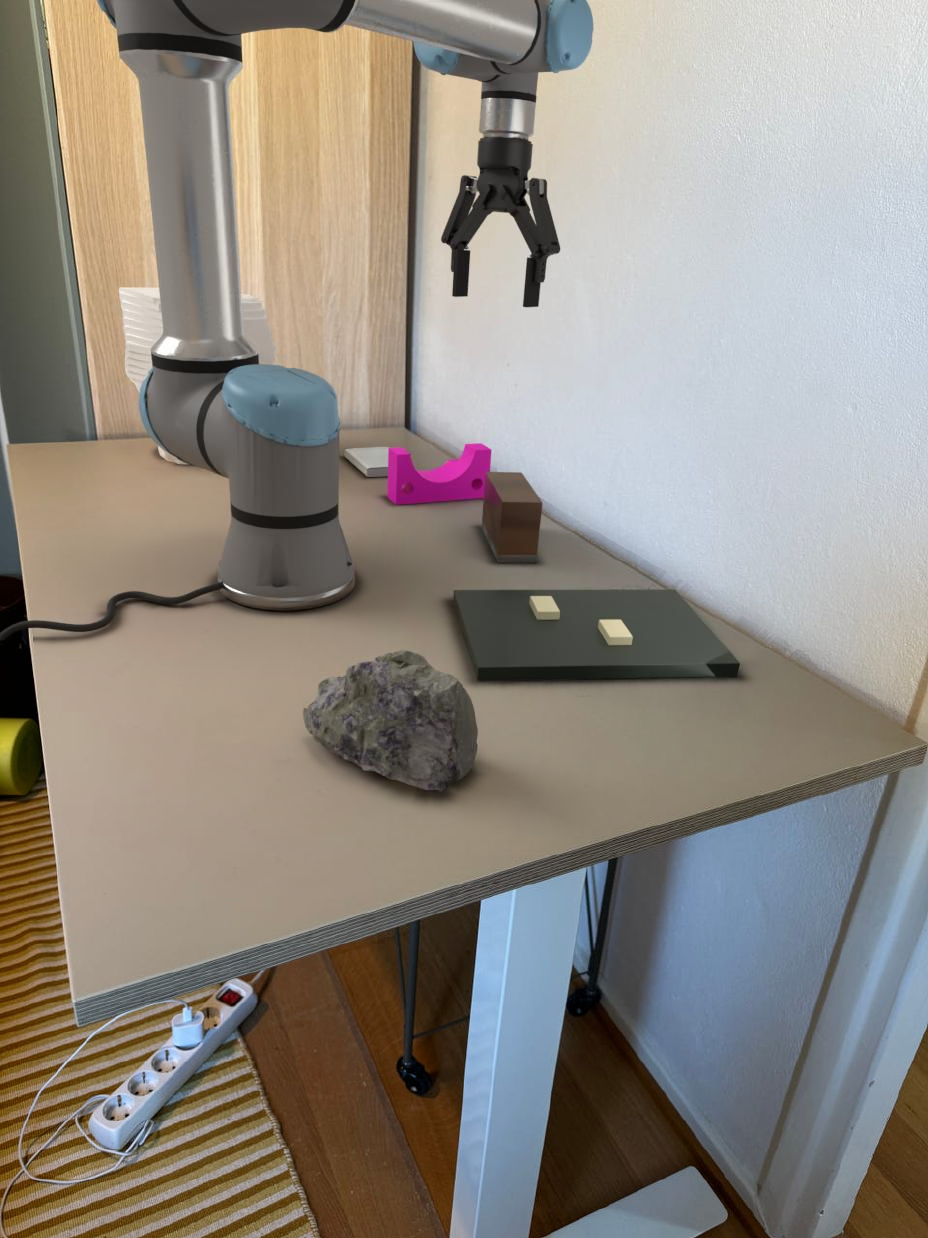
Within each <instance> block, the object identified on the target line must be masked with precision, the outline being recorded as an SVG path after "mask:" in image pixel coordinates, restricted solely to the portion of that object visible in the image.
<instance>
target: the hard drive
mask: <svg viewBox="0 0 928 1238" xmlns="http://www.w3.org/2000/svg"><path fill="white" fill-rule="evenodd" d="M389 448H390V447H389V446H373V447H356V448H355V447H354V448H346V449H344V450H343V452H344V453H343V456H344V457H345V459H347V460H348V461H349V462H350V463H351V464H352V465H353V466H355V467H356V469H358V470H359V471H360V472H361V473H362V474H364V476H366V477H368V478H378V477H379V478H380V477H381V478H382V477H388V449H389Z"/></svg>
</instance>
